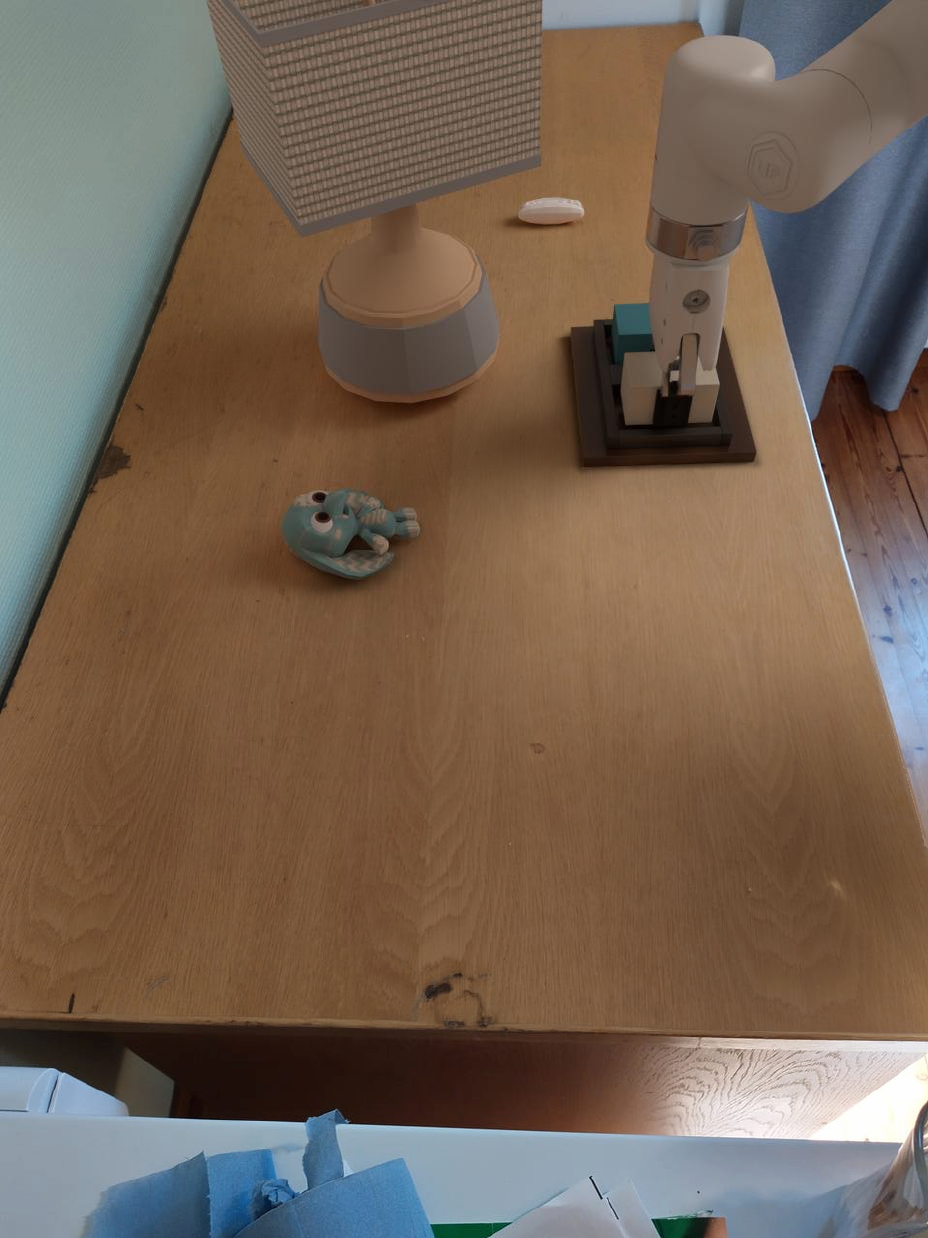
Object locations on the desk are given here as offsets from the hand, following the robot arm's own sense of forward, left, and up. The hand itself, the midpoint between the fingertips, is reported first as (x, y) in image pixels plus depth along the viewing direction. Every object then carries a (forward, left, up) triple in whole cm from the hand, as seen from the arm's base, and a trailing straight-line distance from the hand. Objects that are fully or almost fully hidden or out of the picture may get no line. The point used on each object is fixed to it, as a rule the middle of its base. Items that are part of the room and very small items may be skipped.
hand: (665, 402), depth 84 cm
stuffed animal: (+29, +14, -3) cm, 33 cm away
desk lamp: (+25, -12, -3) cm, 28 cm away
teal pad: (0, -9, -2) cm, 10 cm away
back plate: (0, -5, -3) cm, 6 cm away
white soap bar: (+9, -38, -3) cm, 39 cm away
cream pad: (0, 0, 0) cm, 0 cm away
